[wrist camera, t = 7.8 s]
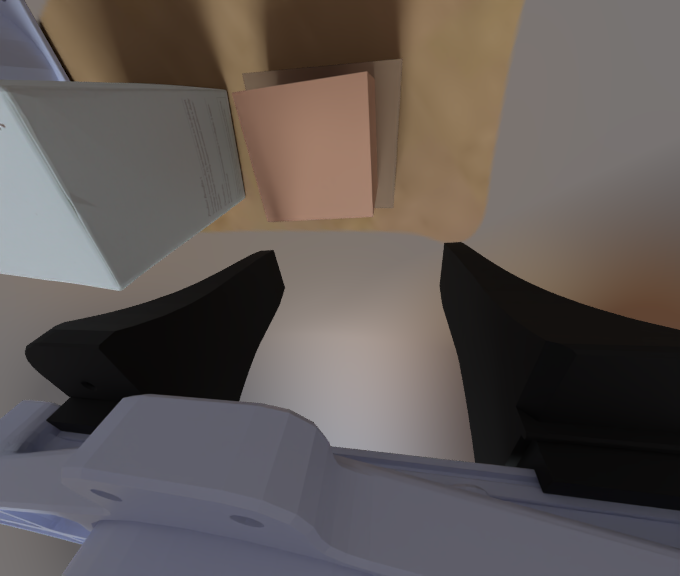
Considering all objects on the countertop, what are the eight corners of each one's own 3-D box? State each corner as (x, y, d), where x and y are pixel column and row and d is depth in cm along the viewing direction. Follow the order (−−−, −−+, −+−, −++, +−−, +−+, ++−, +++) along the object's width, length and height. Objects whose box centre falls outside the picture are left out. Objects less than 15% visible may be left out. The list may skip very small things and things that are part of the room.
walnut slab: (289, 191, 21) (271, 208, 18) (270, 77, 17) (242, 73, 13) (392, 189, 19) (393, 207, 16) (400, 65, 15) (402, 58, 12)
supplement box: (126, 81, 18) (-220, 64, 8) (230, 88, 17) (-2, 80, 7) (164, 192, 22) (-24, 273, 12) (247, 201, 22) (121, 296, 11)
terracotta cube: (297, 191, 17) (267, 221, 13) (278, 93, 14) (231, 92, 10) (377, 185, 16) (373, 216, 12) (374, 79, 13) (367, 71, 9)
